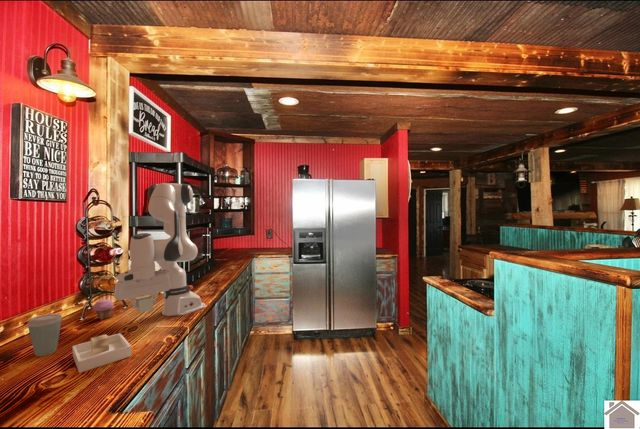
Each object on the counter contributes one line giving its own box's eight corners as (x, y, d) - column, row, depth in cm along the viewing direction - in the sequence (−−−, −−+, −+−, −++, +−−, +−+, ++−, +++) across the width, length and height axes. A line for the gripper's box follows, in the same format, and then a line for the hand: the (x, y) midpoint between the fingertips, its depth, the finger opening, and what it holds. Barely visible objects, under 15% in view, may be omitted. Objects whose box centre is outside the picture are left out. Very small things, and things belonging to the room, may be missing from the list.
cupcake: (98, 322, 153) (97, 303, 153) (90, 319, 157) (89, 300, 157) (117, 316, 160) (116, 298, 160) (109, 314, 165) (108, 296, 165)
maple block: (106, 346, 123) (105, 334, 123) (109, 349, 119) (108, 337, 119) (91, 350, 119) (90, 338, 119) (93, 354, 116) (92, 341, 116)
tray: (120, 342, 129) (120, 333, 128) (131, 356, 116) (131, 345, 116) (72, 355, 117) (72, 345, 117) (79, 372, 105) (78, 361, 104)
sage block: (149, 307, 127) (149, 295, 127) (153, 309, 124) (152, 297, 123) (136, 310, 124) (135, 298, 123) (139, 312, 120) (139, 300, 120)
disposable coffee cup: (46, 346, 126) (44, 311, 126) (71, 346, 126) (69, 311, 125) (20, 359, 116) (18, 321, 115) (47, 359, 115) (45, 320, 115)
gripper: (167, 267, 133) (168, 298, 133) (112, 276, 118) (113, 310, 119) (172, 269, 128) (173, 301, 129) (116, 278, 114) (117, 314, 114)
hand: (144, 305), depth 124 cm, fingers closed on sage block, 5 cm apart
